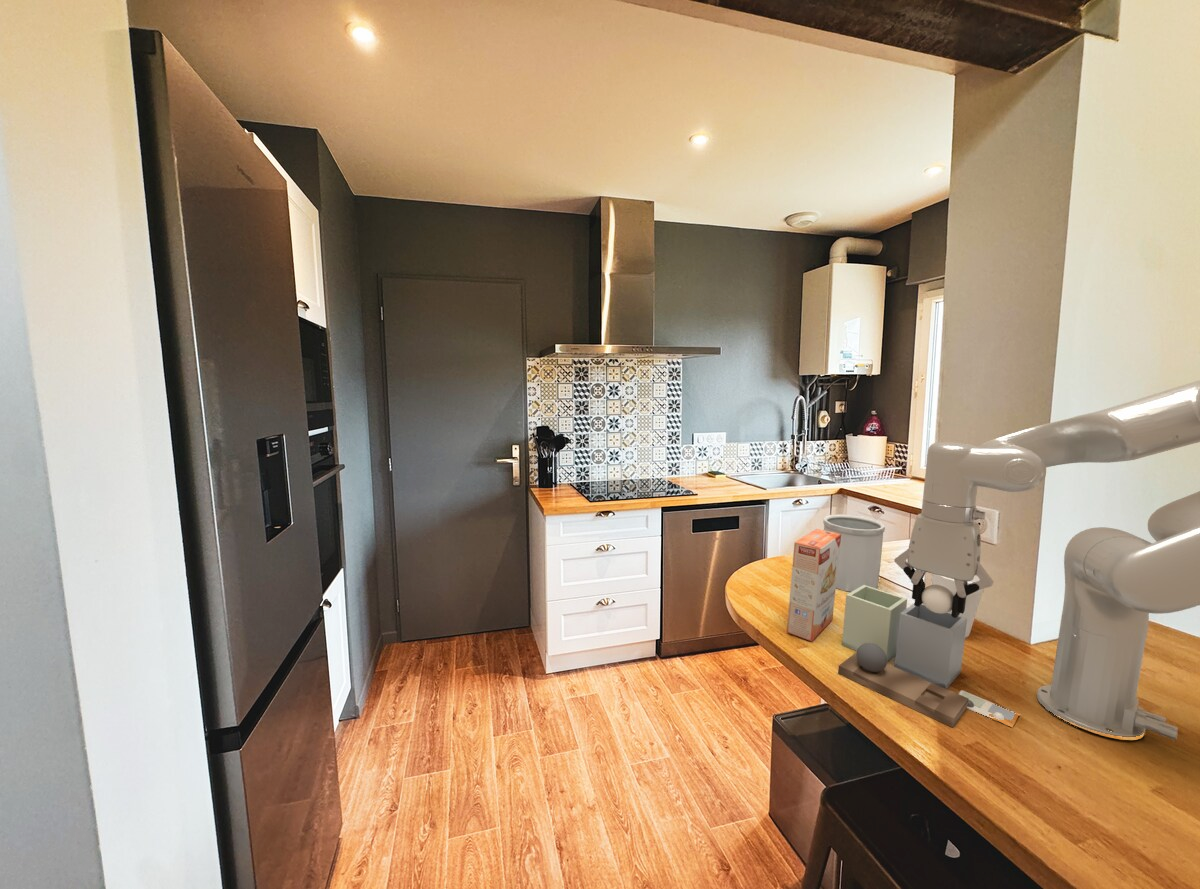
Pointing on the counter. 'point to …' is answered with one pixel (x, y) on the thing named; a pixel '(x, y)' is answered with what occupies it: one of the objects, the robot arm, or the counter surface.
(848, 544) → the utensil holder
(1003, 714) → the card
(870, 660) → the charcoal ball
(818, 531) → the cracker box
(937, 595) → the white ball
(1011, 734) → the counter surface
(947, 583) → the foam cup
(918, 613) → the slate pot
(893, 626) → the sage pot
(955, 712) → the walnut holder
